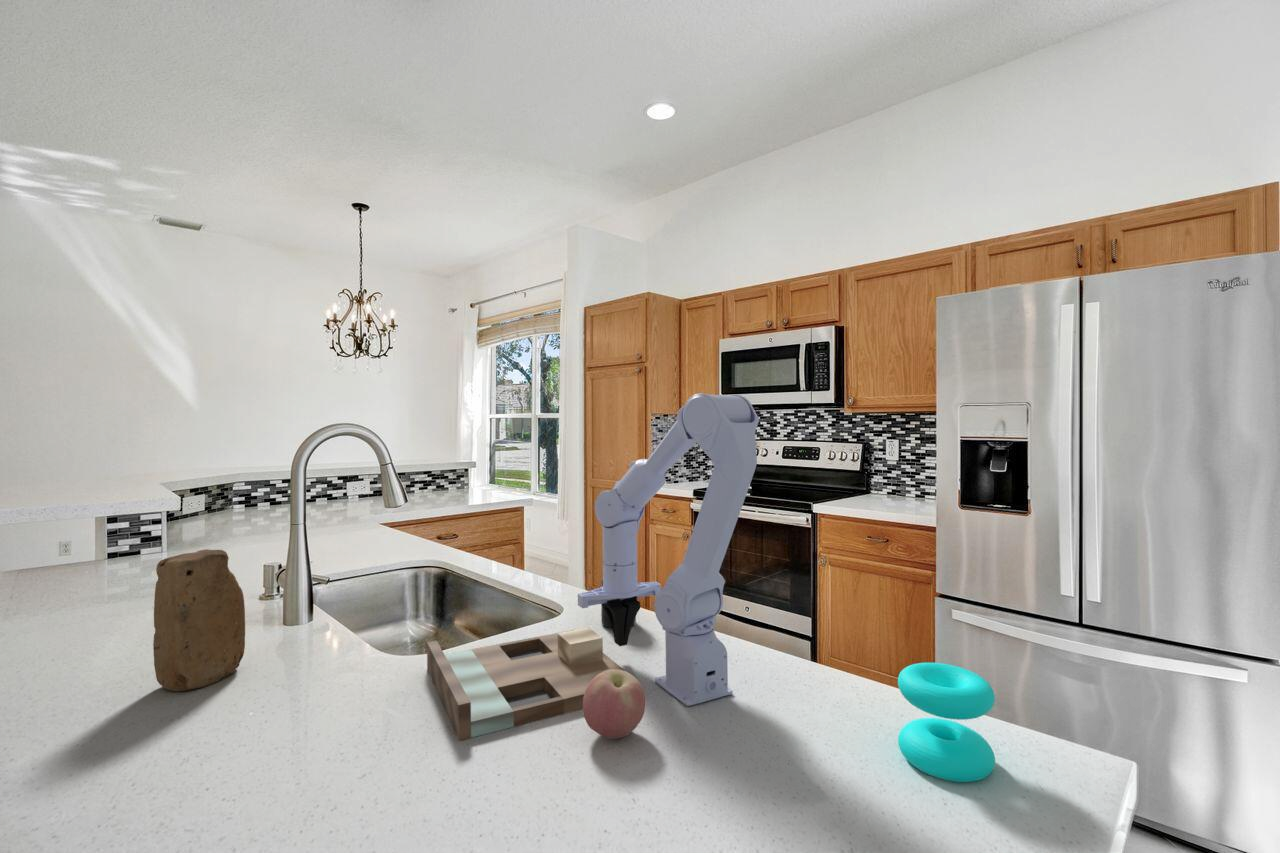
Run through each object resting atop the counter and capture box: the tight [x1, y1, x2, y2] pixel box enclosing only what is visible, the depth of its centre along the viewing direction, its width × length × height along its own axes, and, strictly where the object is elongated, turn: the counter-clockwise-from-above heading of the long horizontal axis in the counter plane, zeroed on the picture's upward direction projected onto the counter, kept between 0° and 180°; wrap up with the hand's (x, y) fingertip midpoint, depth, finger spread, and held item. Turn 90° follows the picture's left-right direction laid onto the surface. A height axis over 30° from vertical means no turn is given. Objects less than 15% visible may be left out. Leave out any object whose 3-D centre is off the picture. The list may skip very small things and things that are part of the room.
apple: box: [582, 669, 646, 740], centre depth 76 cm, size 8×8×8 cm
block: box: [152, 549, 246, 692], centre depth 94 cm, size 11×8×20 cm
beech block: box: [557, 627, 604, 667], centre depth 96 cm, size 6×6×4 cm
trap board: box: [426, 629, 626, 742], centre depth 92 cm, size 24×26×4 cm
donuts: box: [897, 662, 996, 783], centre depth 69 cm, size 10×10×10 cm
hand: (620, 643), depth 99 cm, fingers closed
